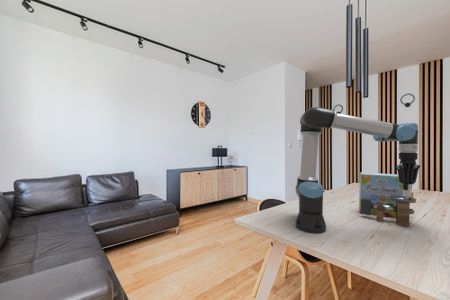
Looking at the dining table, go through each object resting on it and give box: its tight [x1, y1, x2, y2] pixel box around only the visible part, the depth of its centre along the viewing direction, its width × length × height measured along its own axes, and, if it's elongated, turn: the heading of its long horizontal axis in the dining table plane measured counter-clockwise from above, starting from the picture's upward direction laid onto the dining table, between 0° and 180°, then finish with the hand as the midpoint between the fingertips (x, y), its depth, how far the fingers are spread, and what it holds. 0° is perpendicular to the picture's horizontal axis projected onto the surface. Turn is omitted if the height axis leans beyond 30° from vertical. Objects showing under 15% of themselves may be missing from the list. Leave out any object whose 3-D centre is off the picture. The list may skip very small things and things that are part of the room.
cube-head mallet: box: [361, 198, 415, 216], centre depth 118 cm, size 4×24×9 cm, turn 54°
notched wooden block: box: [376, 201, 411, 228], centre depth 117 cm, size 9×14×13 cm, turn 53°
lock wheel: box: [390, 191, 417, 204], centre depth 114 cm, size 11×11×6 cm
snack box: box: [358, 171, 404, 219], centre depth 129 cm, size 22×9×26 cm, turn 62°
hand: (407, 196), depth 110 cm, fingers closed
